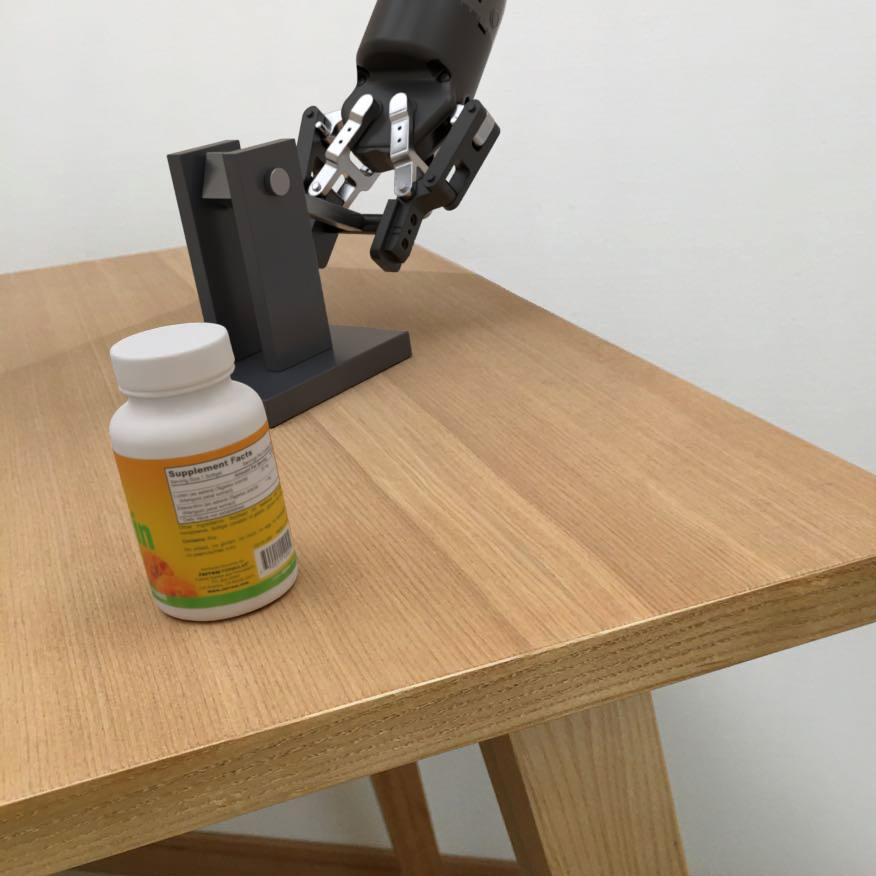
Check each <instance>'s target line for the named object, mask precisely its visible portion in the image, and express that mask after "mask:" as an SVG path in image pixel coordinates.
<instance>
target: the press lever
mask: <svg viewBox="0 0 876 876" xmlns="http://www.w3.org/2000/svg"><path fill="white" fill-rule="evenodd" d="M224 153H228V152H207V153H206V161H205V171H204V180H203V190H202V198H203V199H205V200H208V201H211V202H214V203H218V204H221V205H224V206H227V207H230V208H233V205H232V200H231V195H230V190H229V186H228V181H227V176H226V171H225V166H224V161H223V157H222V154H224ZM305 196H306V202H307V207H308V213H309V218H311V219H314V220H317V221H320V222H322V227H323V229H324V231H325V232H326V233H329V234H339V235H361V236H362V235H363V236H364V235H365V236H366V235H367V236H375V234H376V231H377V229H378V226H379V223H380V221H381V218H382V215H383V213H361V212H358V211H355V210H353V209H350V208H348V209H347V208H344V207H342V206H339V205H336V204H333V203H330V202H328V201H325V200H322V199H319V198H316V197H314V196H311V195H308V194H305Z"/></svg>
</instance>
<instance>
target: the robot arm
mask: <svg viewBox="0 0 876 876" xmlns="http://www.w3.org/2000/svg"><path fill="white" fill-rule="evenodd" d="M507 1H508V0H376V2H375V5H374V6H373V10H372V12H371V15H370V17H369V19H368V23H367V25H366V28H365V30H364V33H363V35H362V37H361V41H360V43H359V45H358V48H357V51H356V54H355V67H356V85H355V87H354V88H353V90H352V92H351V93H350V94H349V95H348V96H347V97H346V99H345V100H344V101H343V103H342V105H341V108H340V109H337V110H332V111H329V112H326V113H323V112H322V111H321V110H320V109H319V107H318V106H316V105H310V106H308V107H306V109H305V110H304V111H303V113H302V115H301V121H300V125H299V131H298V136H297V141H296V147H297V152H298V158H299V163H300V169H301V174H302V180H303V185H304V191H305V194H308V195H311V196H314V197H316V198H319V199H322V200H325V201H328V202H330V203H333V204H336V205H339V206H342V207H344V208H347V209H350V207H351V205H352V204H353V203H354V201H355V200H356V199H357V197H358V196H359V194H361V192H368V191H370V190H371V188H372V187H373V186H374V184H375V183H376V182H377V180H378V179H379V177H380V176H381V174H382V173H386V172H390V171H394V172H393V173H394V177H393V193H394V195H395V196H396V198H389V199H387V201H386V204H385V207H384V210H383V211H382V212H383V213H382V214H383V215H382V218H381V221H380V223H379V226H378V229H377V231H376V234H375V235H374V237H373V239H372V243H371V245H370V247H369V257H370V259H371V260H372V261H373V262H374V263H375V264H376V265H377V266H378V267H379V268H380V269H381V270H382V271H383V272H385V273H398V272H399V271H400V270H401V269H402V265H403V264H405V263H406V261H407V260H408V259H409V257H410V256H411V253H412V250H413V247H414V245H415V242H416V240H417V237H418V233H419V231H420V228H421V225H422V223H423V220H426V219H427V218H429V217H430V216H431V215H432V213H433V211H435V210H436V209H441V208H443V209H444V210H445V211H447V212H450V211H454V210H456V209H457V208H458V207H459V206H460V205H461V203H462V201H463V199H464V198H465V196H466V194H467V192H468V190H469V189H470V187H471V185H472V184H473V182H474V180H475V178H476V177H477V175H478V173H479V171H480V169H481V168H482V166H483V165H484V163H485V161H486V159H487V157H488V156H489V154H490V152H491V150H492V149H493V147H494V145H495V144H496V142H497V140H498V139H499V136H500V134H501V128H500V126H499V125H498V123H497V121H496V120H495V119H494V117H493V116H492V114H491V113H490V112H489V110H488V109H487V108H486V107H485V106H484V105H483V104H482V102H481V101H480V100H479V99H477V98H475V96H476V94H477V91H478V89H479V85H480V83H481V80H482V77H483V74H484V72H485V69H486V67H487V63H488V60H489V58H490V55H491V52H492V49H493V48H494V47H493V46H494V44H495V42H496V38H497V35H498V32H499V30H500V27H501V25H502V21H503V18H504V16H505V12H506V6H507ZM351 153H352V155H353V156H354V157H355V158H356V159H357V160H358V161H359V162H360V163H361V165H362V166H361V167H360V168H359V167H358V166H357V165H356V164H355V163H354V162H353V160H352V159H351V156H350V155H351ZM453 168H454V172H453V173H452V175H451V177H450V179H449V180H447V178H448V177H449V175H450V173H451V171H452V170H453ZM341 175H342V177H343V179H344V181H343V182H342V184H341V185H340V187H339V189H338V190H337V191H335V189H334V188H333V187H334V185H335V184H336V183H337V181H338V180H339V178H340V177H341ZM310 224H311V229H312V235H313V240H314V246H315V252H316V257H317V263H318V268H319V269H320V270H324V269H326V268H327V266H328V263H329V261H330V259H331V255H332V254H333V250H334V248H335V245H336V242H337V239H338V237H339V235H340V234H329V233H326V232H325V231H324V229H323V227H322V222H320V221H317V220H314V219H311V218H310Z"/></svg>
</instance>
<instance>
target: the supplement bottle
mask: <svg viewBox="0 0 876 876" xmlns="http://www.w3.org/2000/svg"><path fill="white" fill-rule="evenodd" d="M109 357H110V362H111V365H112V370H113V373H114V378H115V380H116V383H117V388H118V390H119V392H120V393H121V394H123V395H125V396H126V397H127V401H125V402H124V403H123V404H122V405H120V406H119V407H118V408H117V410H116V411H115V412H114V413H113V415H112V416H111V419H110V421H109V424H108V425H109V426H108V433H109V440H110V443H111V444H110V445H111V450H112V453H113V456H114V460H115V464H116V467H117V472H118V475H119V479H120V483H121V487H122V489H123V493H124V497H125V501H126V505H127V508H128V512H129V517H130V520H131V522H132V526H133V529H134V533H135V538H136V540H137V541H136V542H137V545H138V547H139V551H140V555H141V559H142V562H143V566H144V571H145V573H146V577H147V582H148V584H149V588H150V591H151V594H152V598H153V601H154V603H155V604H156V606H157V607H158V609H160V610H161V611H162V612H163V613H165V615H168V616H170V617H173V618H176V619H179V620H185V621H191V622H193V621H194V622H212V621H220V620H226V619H230V618H236V617H239V616H242V615H245V614H249V613H251V612H254V611H256V610H259V609H261V608H263V607H265V606H267V605H269V604H270V603H272V602H274V601H276V600H278V599H279V598H281V597H282V596H283V595H284V594H286V593H287V592H288V591H289V590H290V589H291V587H293V585H294V584H295V582H296V580H297V577H298V571H299V565H298V559H297V552H296V548H295V542H294V539H293V534H292V533H293V532H292V529H291V524H290V519H289V515H288V511H287V506H286V502H285V496H284V492H283V488H282V483H281V478H280V474H279V469H278V464H277V459H276V455H275V450H274V445H273V440H272V436H271V431H270V427H269V425H268V421H267V417H266V413H265V409H264V406H263V403H262V400H261V398H260V397H259V395H258V394H257V393H256V392H255V391H254V390H253V389H252V388H250V387H249V386H247V385H245V384H243V383H240V382H237V381H233V380H231V377H230V375H231V373H233V371H234V368H235V365H234V361H235V359H234V355H233V351H232V347H231V344H230V340H229V335H228V332H227V330H226V328H225V327H223V326H221V325H218V324H213V323H204V322H186V323H178V324H170V325H163V326H160V327H156V328H152V329H148V330H144V331H140V332H138V333H134V334H132V335H129V336H127V337H124V338H122V339H121V340H119V341H117V342H116V343H114V344H113V345H112V346H111V348H110V349H109Z"/></svg>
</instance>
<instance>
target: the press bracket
mask: <svg viewBox="0 0 876 876" xmlns="http://www.w3.org/2000/svg"><path fill="white" fill-rule="evenodd" d="M296 146H297V141H296V138H293V137H291V138H290V137H288V138H278V139H274V140H270V141H267V142H263V143H259V144H254V145H250V146H247V147H244V148H242V147H241V141H240V140H239V139H224V140H221V141H216V142H212V143H208V144H205V145H200V146H196V147H192V148H188V149H184V150H180V151H176V152H172V153H167V154H166V160H167V164H168V168H169V173H170V177H171V181H172V186H173V191H174V195H175V199H176V204H177V209H178V213H179V217H180V218H179V219H180V221H181V227H182V230H183V231H182V232H183V236H184V239H185V243H186V248H187V253H188V257H189V261H190V266H191V270H192V274H193V278H194V279H193V280H194V283H195V288H196V292H197V297H198V301H199V305H200V306H199V307H200V310H201V315H202V318H203V319H202V320H203V323H213V324H218V325H221V326H223V327H225V328H226V330H227V332H228V335H229V340H230V344H231V347H232V351H233V355H234V359H235V361H234V365H235V368H234V371H233V373H231V375H230V377H231V380H233V381H237V382H240V383H243V384H245V385H247V386H249V387H250V388H252V389H253V390H254V391H255V392H256V393H257V394H258V395H259V397H260V398H261V400H262V403H263V406H264V409H265V413H266V417H267V421H268V425H269V428H275V426H278V425H279V424H283V422H285V421H288V420H289V419H291V418H293V417H296V416H297V415H299V414H301V413H303V412H305V411H307V410H309V409H310V408H313V407H314V406H317V405H319V404H320V403H323V402H324V401H327V400H328V399H331V398H332V397H334V396H336V395H338V394H340V393H342V392H344V391H346V390H347V389H349V388H351V387H353V386H356V385H357V384H359V383H362V382H363V381H365V380H367V379H369V378H371V377H373V376H375V375H377V374H378V373H381V372H383V371H385V370H386V369H389V368H390V367H393V366H394V365H397V364H399V363H401V362H402V361H405V360H406V359H408V358H410V357H412V356H413V350H412V343H411V337H410V331H409V330H404V329H403V330H401V329H391V328H376V327H363V326H351V325H338V324H329V318H328V313H327V307H326V302H325V297H324V291H323V285H322V279H321V274H320V270H319V268H318V263H317V257H316V252H315V246H314V240H313V235H312V229H311V224H310V218H309V213H308V207H307V202H306V196H305V191H304V185H303V180H302V174H301V169H300V163H299V158H298V152H297V147H296ZM207 152H228V153H224V154H222V157H223V161H224V166H225V171H226V176H227V181H228V186H229V190H230V195H231V200H232V205H233V208H230V207H227V206H224V205H221V204H218V203H214V202H211V201H208V200H205V199H203V198H202V190H203V180H204V171H205V161H206V153H207Z"/></svg>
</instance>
